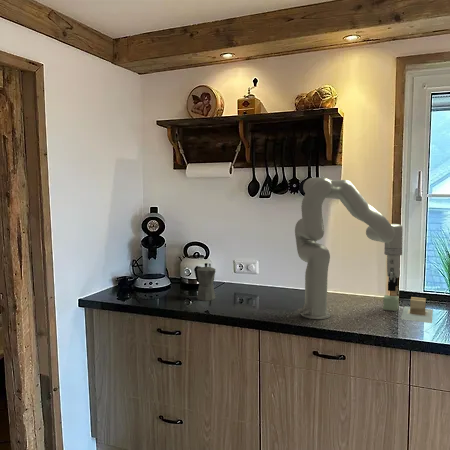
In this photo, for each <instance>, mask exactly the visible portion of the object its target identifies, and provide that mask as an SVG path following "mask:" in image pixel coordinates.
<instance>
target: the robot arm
mask: <svg viewBox="0 0 450 450" xmlns="http://www.w3.org/2000/svg"><path fill="white" fill-rule="evenodd" d="M302 189H303V192H304V193H305V194H304V196H303V198H302V201H301V205H300V206H301V218H300V219H299V220H297V222H296V223H295V225H294V226H295V227H294V234H295V235H294V236H295V243H296V251H297V255H298V257H299V258H300V260H302V261H303V262H305V263H306V268H305V272H304V273H305V274H304V304H303V305H302V307H301V308H297V309H296V313H297V314H300V315H301V316H302V317H303V318H306V319H311V320H325V319H326V320H327V319H329V318H330V317H331V312H330V311H328V309H327V307H328V276H329V275H328V272H329V264H330V261H331V260H330V259H331V253H330V251H329V249H328V248H327V247H326V246H325V245H324V244H321V243H319V242H318V241H320V240H321V239H322V238H324V235H325V226H324V219H323V209H322V208H323V203H324V201H325V200H326V199H335V200H339V201H340V202H341V204H342V205H343V206H344V207H345V208H346V210H347V211H348V212H349V213H350V214H351V216H352V217H354V218H355V219H357V220H359V221H361V222H363V223H365V224H366V225H368V226H367V228H366V229H365V234H366V237H367V238H368V239H369V240H370V241H375V242H380V243H384V249H383V251H384V255H385V256H386V276H387V277H388V282H387V291H388V292H396V288H397V287H398V285H399V284H398V280H399V279H398V278H399V277H400V275H401V256H403V231H404V229H403V226H402V225H401V224H399V223H390V221H388V220H387V218H386V217H385V216H384V215H383V214H382V213H381V212H379V211H378V210H377V209H376V208H374V207H373V206H372V205H370V204H369V202H368V201H367V200H366V199H365V197H364V196H363V195H362V194H361V192H360V191H359V190H358V189H357V188H356V186H355V185H354V184H353V182H351V181H350V180H349V179H329V178H327V177H325V176H324V177H323V176H321V177H320V176H319V177H318V176H317V177H310V178H308V179H306V180H305V181H304V183H303V187H302Z"/></svg>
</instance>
